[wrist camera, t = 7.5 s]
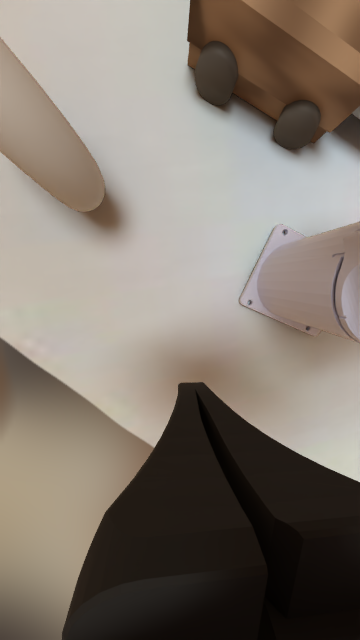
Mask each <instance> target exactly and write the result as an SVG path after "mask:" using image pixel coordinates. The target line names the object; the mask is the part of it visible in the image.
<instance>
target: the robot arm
mask: <svg viewBox="0 0 360 640" xmlns="http://www.w3.org/2000/svg"><path fill="white" fill-rule="evenodd" d="M283 230H284V231H285V235H283V234H282V231H283ZM248 300H251V303H250V304H249V305H248V303H247V302H248ZM239 302H240V304H242V305H244V306H246V307H248V308H250V309H253V310H255V311H257V312H260V313H262V314H264V315H266V316H269V317H271V318H273V319H275V320H278V321H280V322H282V323H285V324H287V325H289V326H291V327H294V328H296V329H298V330H300V331H303V332H305V333H307V334H310V335H312V336H317V335H319V333H320V332H321V330H322V331H325V332H328V333H331V334H334V335H338V336H341V337H344V338H347V339H350V340H353V341H356V342H359V343H360V222H357V223H354V224H350V225H347V226H344V227H340V228H337V229H334V230H330V231H327V232H324V233H321V234H317V235H314V236H311V237H305V236H304V235H302V234H300V233H298V232H296V231H294V230H292V229H290V228H288V227H287V226H285V225H283V224H279V225H277V226H275V227H274V229H273V231H272V233H271V235H270V237H269V239H268V241H267V243H266V245H265V247H264V249H263V252H262V254H261V256H260V258H259V260H258V262H257V264H256V266H255V268H254V270H253V272H252V274H251V276H250V278H249V280H248V282H247V284H246V286H245V289H244V291H243V293H242V295H241V297H240V299H239ZM307 326H308V328H307V329H306V327H307ZM62 640H360V482H358V481H356V480H353V479H351V478H349V477H346V476H344V475H342V474H340V473H337V472H335V471H333V470H330V469H328V468H326V467H324V466H322V465H320V464H318V463H316V462H314V461H312V460H310V459H308V458H306V457H304V456H302V455H300V454H298V453H296V452H295V451H293V450H291V449H289V448H287V447H286V446H284V445H282V444H281V443H279V442H277V441H275V440H274V439H272V438H270V437H269V436H267V435H266V434H264V433H263V432H261V431H260V430H258V429H257V428H255V427H254V426H252V425H251V424H250V423H248V422H247V421H246V420H244V419H243V418H242V417H240V416H239V415H238V414H237V413H235V412H234V411H233V410H232V409H231V408H229V407H228V406H227V405H226V404H225V403H224V402H223V401H222V400H221V399H219V398H218V397H217V396H216V395H215V394H214V393H213V392H212V391H211V390H210V389H209V388H208V387H207V386H206V385H205V384H204V383H203V382H198V383H180V384H179V385H178V396H177V400H176V404H175V407H174V410H173V412H172V415H171V417H170V420H169V422H168V424H167V426H166V428H165V430H164V432H163V434H162V436H161V438H160V440H159V441H158V443H157V445H156V446H155V448H154V450H153V452H152V453H151V454H150V456H149V458H148V459H147V460H146V462H145V463H144V465H143V466H142V467H141V469H140V470H139V472H138V473H137V474H136V476H135V477H134V479H133V480H132V481H131V482H130V484H129V485H128V486H127V487H126V488H125V490H124V491H123V492H122V493H121V494H120V495H119V497H118V498H117V499H116V500H115V501H114V503H113V504H112V505H111V506H110V507H109V508H108V510H107V511H106V512H105V514H104V517H103V519H102V521H101V523H100V525H99V527H98V529H97V532H96V534H95V536H94V539H93V541H92V543H91V546H90V548H89V550H88V553H87V556H86V559H85V561H84V564H83V567H82V569H81V572H80V575H79V577H78V581H77V584H76V587H75V591H74V594H73V598H72V601H71V604H70V608H69V611H68V615H67V618H66V622H65V625H64V628H63V632H62Z"/></svg>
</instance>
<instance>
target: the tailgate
mask: <svg viewBox="0 0 360 640" xmlns="http://www.w3.org/2000/svg"><path fill="white" fill-rule="evenodd" d="M352 114H353V115H354V116H356V117H357V118H358V119H360V106H359V107H358V108H357V109H356V110H355V111H354V112H353V113H352Z"/></svg>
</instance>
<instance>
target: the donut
mask: <svg viewBox="0 0 360 640" xmlns="http://www.w3.org/2000/svg"><path fill="white" fill-rule="evenodd" d="M0 152H1V153H2V154H4V155H5V156H6V157H7V158H8V159H9V160H11V161H12V162H13V163H14V164H15V165H16V166H17V167H19V168H20V169H21V170H22V171H23V172H25V173H26V174H27V175H28V176H29V177H31V178H32V179H33V180H34V181H35V182H37V183H38V184H39V185H40V186H41V187H43V188H44V189H45V190H46V191H48V192H49V193H50V194H51V195H53V196H54V197H55V198H57V199H58V200H59V201H61V202H62V203H64V204H65V205H66V206H68V207H69V208H71V209H74V210H77V211H84V212H87V211H91V210H94V209H95V208H97V207H98V206H99V205H100V204H101V202H102V200H103V198H104V193H105V185H104V179H103V177H102V174H101V171H100V169H99V167H98V165H97V163H96V161H95V160H94V158H93V157H92V155H91V154H90V152H89V151H88V149H87V147H86V146H85V144H84V143H83V142H82V140H81V139H80V137H79V136H78V135H77V133H76V132H75V131H74V129H73V128H72V126H71V125H70V124H69V122H68V121H67V120H66V118H65V117H64V116H63V114H62V113H61V112H60V110H59V109H58V108H57V107H56V105H55V104H54V103H53V101H52V100H51V99H50V98H49V96H48V95H47V94H46V92H45V91H44V90H43V89H42V87H41V86H40V85H39V83H38V82H37V81H36V80H35V79H34V77H33V76H32V75H31V74H30V73H29V71H28V70H27V69H26V68H25V66H24V65H23V64H22V63H21V62H20V60H19V59H18V58H17V57H16V56H15V54H14V53H13V52H12V51H11V50H10V48H9V47H8V46H7V45H6V44H5V42H4V41H3V40H2V39H1V38H0Z"/></svg>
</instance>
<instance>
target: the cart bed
mask: <svg viewBox="0 0 360 640" xmlns="http://www.w3.org/2000/svg"><path fill="white" fill-rule="evenodd" d="M187 41H188V42H190V44H189V55H188V65H189V66H190V67H192V68H194V69H195V83H196V86H197V89H198V91H199V92H200V94H201V95H202V97H203V98H204V99H205V100H206V101H208V102H209V103H211V104H214V105H222V104H224V103H226V102H227V101H228V100H229V98H230V97H231V94H232V93H234V94H235V95H237V96H238V97H240V98H242V99H243V100H245V101H246V102H248V103H250V104H251V105H253V106H254V107H256V108H258V109H259V110H261V111H262V112H264V113H266V114H267V115H269V116H270V117H272V118H274V119H275V120H277V123H276V126H275V128H274V137H275V140H276V141H277V143H278V144H279V145H281V146H282V147H284V148H287V149H297V148H301V147H303V146H305V145H306V144H308V143H309V142H310V141H311V142H312V143H315V142H316V141H317V140H318V139H319V138H320V137H321V136H322V135H323V134H324V133H326V132H327V131H328V132H329V133H330V132H332V131H333V130H334V129H335V128H336V127H337V126H338V125H339V124H340V123H342V122H343V121H344V120H345V119H346V118H347V117H348V116H349V115H350V114H351V113H353V112H354V111H355V110H356V109H357V108H358V107H359V106H360V0H190V11H189V24H188V37H187Z"/></svg>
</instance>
